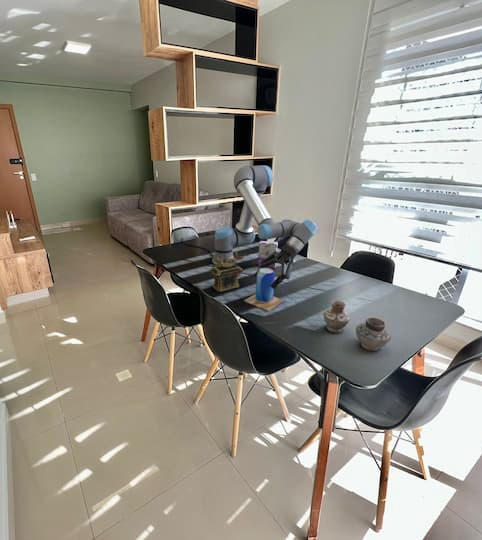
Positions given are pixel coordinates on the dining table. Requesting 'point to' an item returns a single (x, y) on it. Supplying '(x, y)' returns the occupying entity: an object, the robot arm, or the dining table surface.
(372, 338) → the pottery
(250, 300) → the corner mat
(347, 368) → the dining table surface
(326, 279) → the dining table surface
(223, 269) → the decorative box
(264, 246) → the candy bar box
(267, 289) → the beer can
